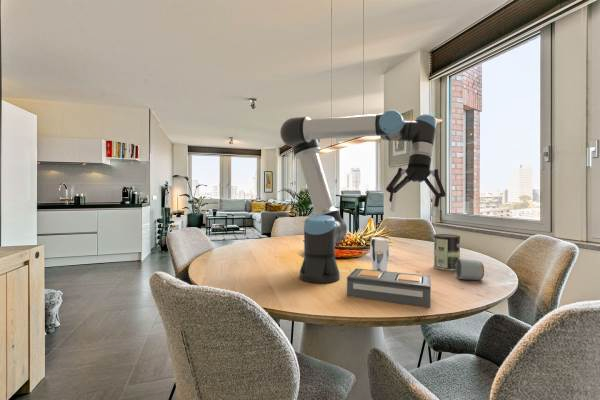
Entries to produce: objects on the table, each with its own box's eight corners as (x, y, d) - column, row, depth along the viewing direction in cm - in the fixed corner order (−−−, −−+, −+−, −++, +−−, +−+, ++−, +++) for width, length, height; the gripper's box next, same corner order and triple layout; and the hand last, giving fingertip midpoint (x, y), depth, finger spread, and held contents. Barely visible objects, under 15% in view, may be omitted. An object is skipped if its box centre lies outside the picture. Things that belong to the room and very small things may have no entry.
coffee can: (459, 266, 135) (459, 234, 134) (460, 271, 125) (460, 237, 125) (433, 264, 139) (434, 233, 139) (433, 269, 130) (433, 236, 129)
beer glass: (385, 281, 111) (386, 240, 111) (367, 278, 115) (367, 239, 115) (391, 277, 117) (391, 238, 117) (373, 274, 121) (373, 236, 121)
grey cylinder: (485, 282, 110) (485, 261, 110) (460, 281, 112) (460, 260, 112) (475, 275, 120) (475, 256, 120) (452, 274, 122) (453, 255, 122)
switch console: (346, 296, 95) (346, 277, 95) (355, 285, 107) (356, 268, 106) (430, 307, 86) (430, 286, 86) (430, 294, 97) (430, 275, 97)
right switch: (396, 290, 92) (396, 279, 92) (398, 284, 98) (398, 273, 98) (421, 293, 89) (421, 281, 89) (421, 286, 96) (422, 275, 96)
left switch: (356, 285, 97) (356, 274, 97) (361, 279, 103) (361, 269, 103) (379, 288, 94) (379, 276, 94) (382, 282, 100) (382, 271, 100)
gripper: (459, 161, 108) (451, 219, 105) (389, 159, 121) (379, 211, 118) (457, 153, 102) (449, 215, 98) (383, 152, 115) (374, 206, 112)
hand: (411, 213), depth 108 cm, fingers open, 13 cm apart
